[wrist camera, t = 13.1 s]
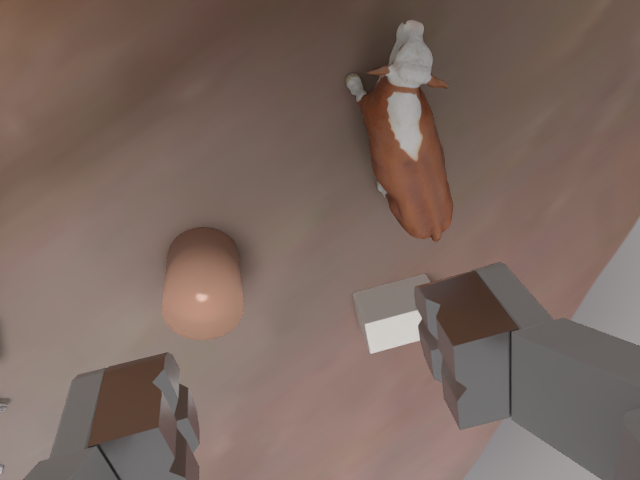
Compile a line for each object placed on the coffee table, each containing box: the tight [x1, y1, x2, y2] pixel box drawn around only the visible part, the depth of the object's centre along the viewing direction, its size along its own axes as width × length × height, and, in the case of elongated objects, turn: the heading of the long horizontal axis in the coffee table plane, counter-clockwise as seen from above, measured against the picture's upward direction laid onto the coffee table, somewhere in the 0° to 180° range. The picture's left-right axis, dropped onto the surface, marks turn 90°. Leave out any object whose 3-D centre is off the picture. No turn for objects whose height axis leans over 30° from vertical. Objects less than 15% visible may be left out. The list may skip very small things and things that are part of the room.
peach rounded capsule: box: [162, 227, 244, 340], centre depth 37 cm, size 5×5×6 cm
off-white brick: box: [353, 274, 430, 354], centre depth 43 cm, size 6×3×4 cm, turn 101°
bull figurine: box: [345, 20, 453, 241], centre depth 33 cm, size 4×14×8 cm, turn 14°
